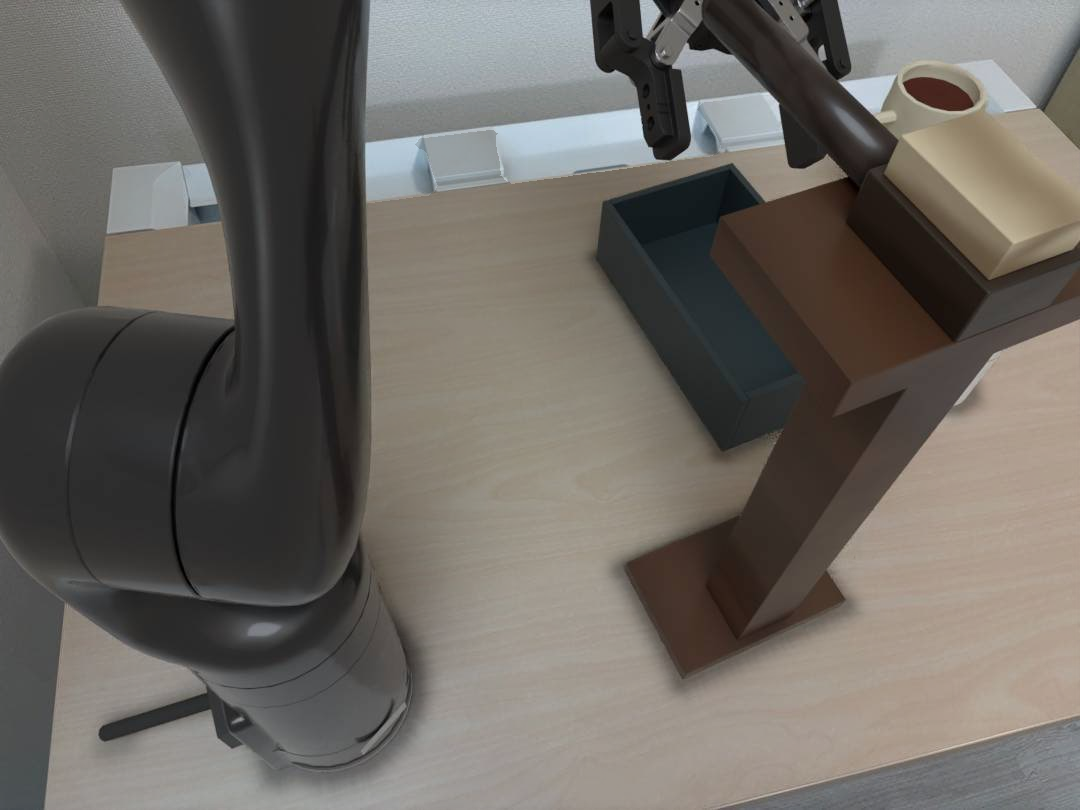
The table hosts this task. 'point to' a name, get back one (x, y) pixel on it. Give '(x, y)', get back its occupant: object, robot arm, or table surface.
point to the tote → (698, 302)
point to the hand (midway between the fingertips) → (744, 159)
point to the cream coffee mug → (930, 96)
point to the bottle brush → (926, 187)
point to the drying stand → (816, 423)
